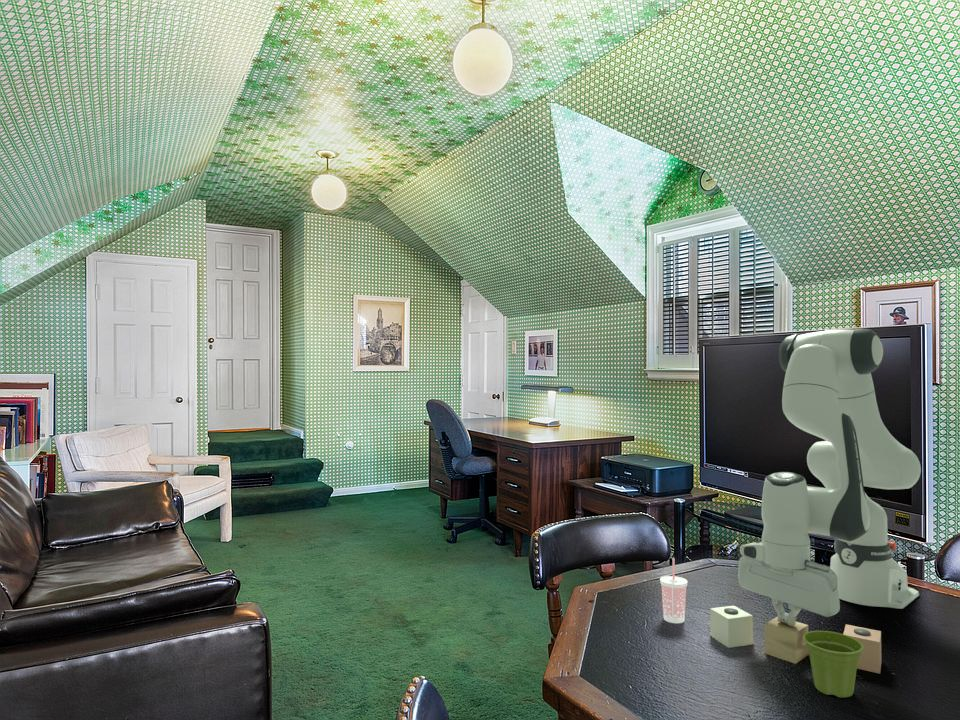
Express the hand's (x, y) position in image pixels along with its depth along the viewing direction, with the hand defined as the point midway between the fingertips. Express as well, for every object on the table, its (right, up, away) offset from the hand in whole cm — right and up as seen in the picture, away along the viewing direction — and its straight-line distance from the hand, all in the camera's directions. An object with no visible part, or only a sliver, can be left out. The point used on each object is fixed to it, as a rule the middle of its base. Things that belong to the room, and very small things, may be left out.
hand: (786, 623), depth 127 cm
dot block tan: (+13, -6, -4) cm, 15 cm away
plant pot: (+1, -6, -14) cm, 16 cm away
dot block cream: (-9, -6, +7) cm, 12 cm away
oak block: (0, -6, 0) cm, 6 cm away
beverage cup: (-17, -7, +18) cm, 26 cm away
